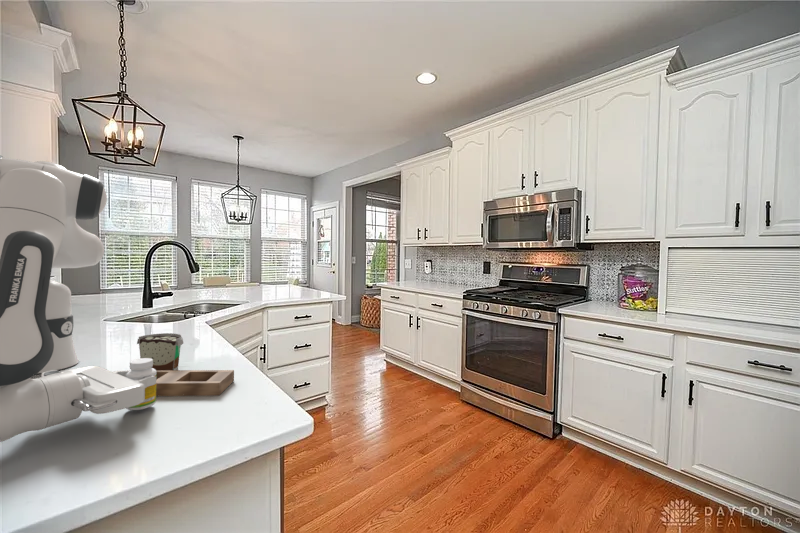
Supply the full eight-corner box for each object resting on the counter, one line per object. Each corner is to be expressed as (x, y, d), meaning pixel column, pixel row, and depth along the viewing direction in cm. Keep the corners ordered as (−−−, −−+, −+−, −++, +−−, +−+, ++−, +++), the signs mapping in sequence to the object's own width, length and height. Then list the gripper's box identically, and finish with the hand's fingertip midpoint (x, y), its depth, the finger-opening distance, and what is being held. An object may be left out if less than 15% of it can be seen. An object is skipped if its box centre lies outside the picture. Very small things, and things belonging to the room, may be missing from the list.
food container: (193, 368, 103) (193, 334, 103) (178, 375, 97) (178, 338, 97) (154, 365, 104) (154, 331, 104) (136, 372, 98) (136, 336, 98)
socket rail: (101, 396, 82) (101, 383, 82) (128, 381, 91) (128, 370, 91) (219, 395, 84) (219, 383, 84) (233, 381, 94) (234, 370, 93)
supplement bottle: (161, 403, 77) (162, 359, 77) (134, 413, 72) (135, 366, 72) (146, 398, 79) (147, 355, 79) (119, 407, 74) (120, 361, 74)
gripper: (87, 393, 59) (173, 370, 71) (39, 370, 69) (122, 353, 81) (87, 430, 59) (173, 401, 71) (39, 401, 69) (122, 380, 81)
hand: (145, 376), depth 76 cm, fingers closed on supplement bottle, 5 cm apart
